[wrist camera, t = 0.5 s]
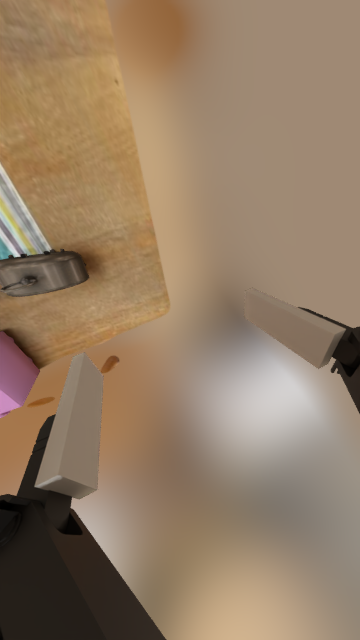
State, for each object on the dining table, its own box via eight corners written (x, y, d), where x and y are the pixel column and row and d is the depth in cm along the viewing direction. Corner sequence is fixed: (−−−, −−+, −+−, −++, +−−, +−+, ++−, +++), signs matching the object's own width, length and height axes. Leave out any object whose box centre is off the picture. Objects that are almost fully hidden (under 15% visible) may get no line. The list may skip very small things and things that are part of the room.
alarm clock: (31, 281, 30) (-33, 323, 17) (13, 250, 27) (-82, 272, 14) (93, 271, 33) (81, 301, 19) (83, 243, 30) (60, 255, 17)
